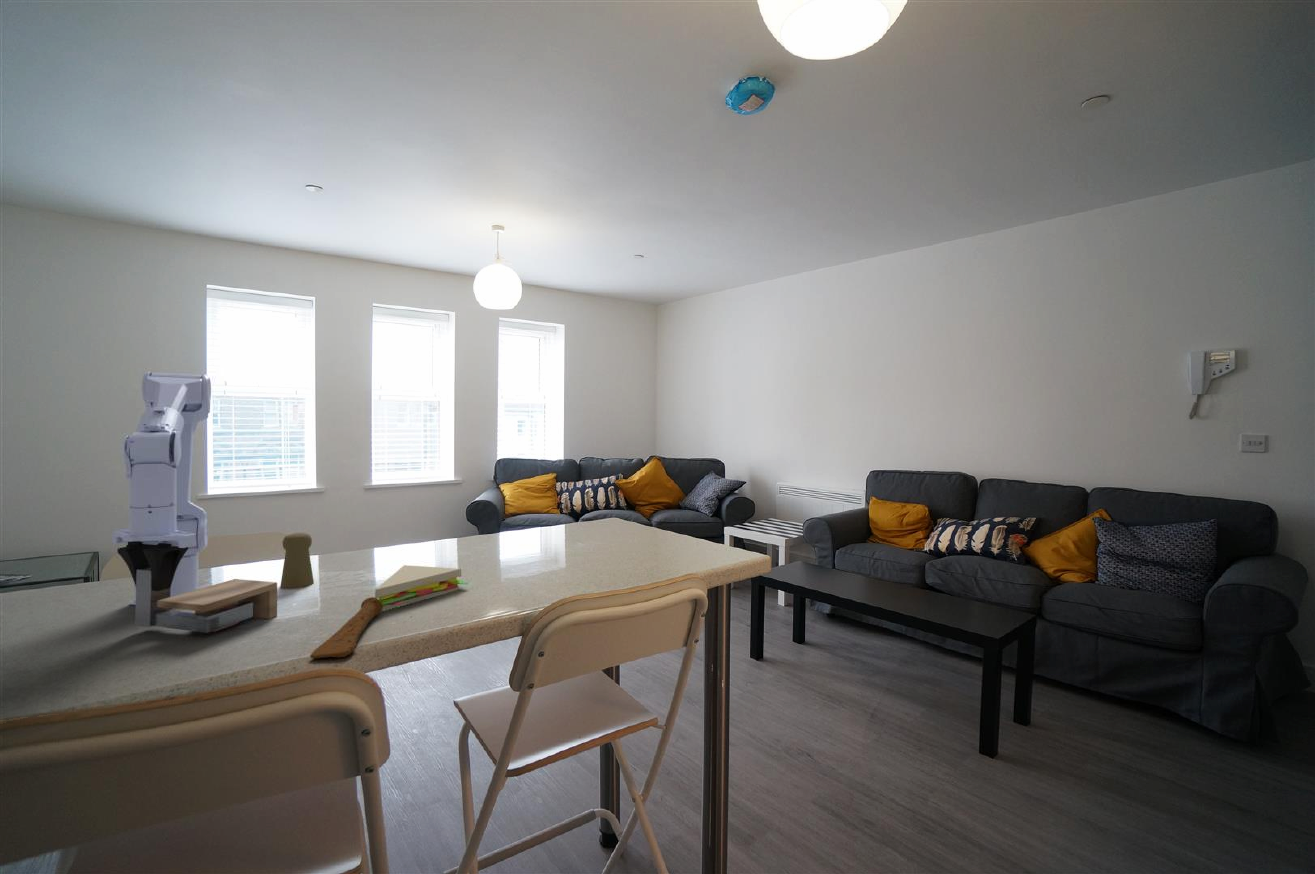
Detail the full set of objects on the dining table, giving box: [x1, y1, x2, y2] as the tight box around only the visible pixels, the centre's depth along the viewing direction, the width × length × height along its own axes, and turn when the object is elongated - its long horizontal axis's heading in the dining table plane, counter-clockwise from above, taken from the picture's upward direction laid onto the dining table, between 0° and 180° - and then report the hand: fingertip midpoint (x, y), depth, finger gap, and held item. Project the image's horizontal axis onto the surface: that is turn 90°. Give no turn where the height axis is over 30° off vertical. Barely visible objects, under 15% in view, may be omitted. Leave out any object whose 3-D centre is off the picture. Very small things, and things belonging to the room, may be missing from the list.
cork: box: [280, 532, 315, 590], centre depth 118 cm, size 6×6×11 cm
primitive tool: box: [309, 596, 383, 659], centre depth 91 cm, size 19×6×4 cm, turn 7°
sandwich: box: [374, 564, 469, 612], centre depth 111 cm, size 15×20×5 cm
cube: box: [194, 601, 239, 633], centre depth 94 cm, size 4×4×4 cm
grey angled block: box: [134, 567, 254, 634], centre depth 93 cm, size 14×8×9 cm, turn 78°
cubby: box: [157, 578, 278, 620], centre depth 94 cm, size 9×13×6 cm
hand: (153, 588), depth 92 cm, fingers closed on grey angled block, 3 cm apart
